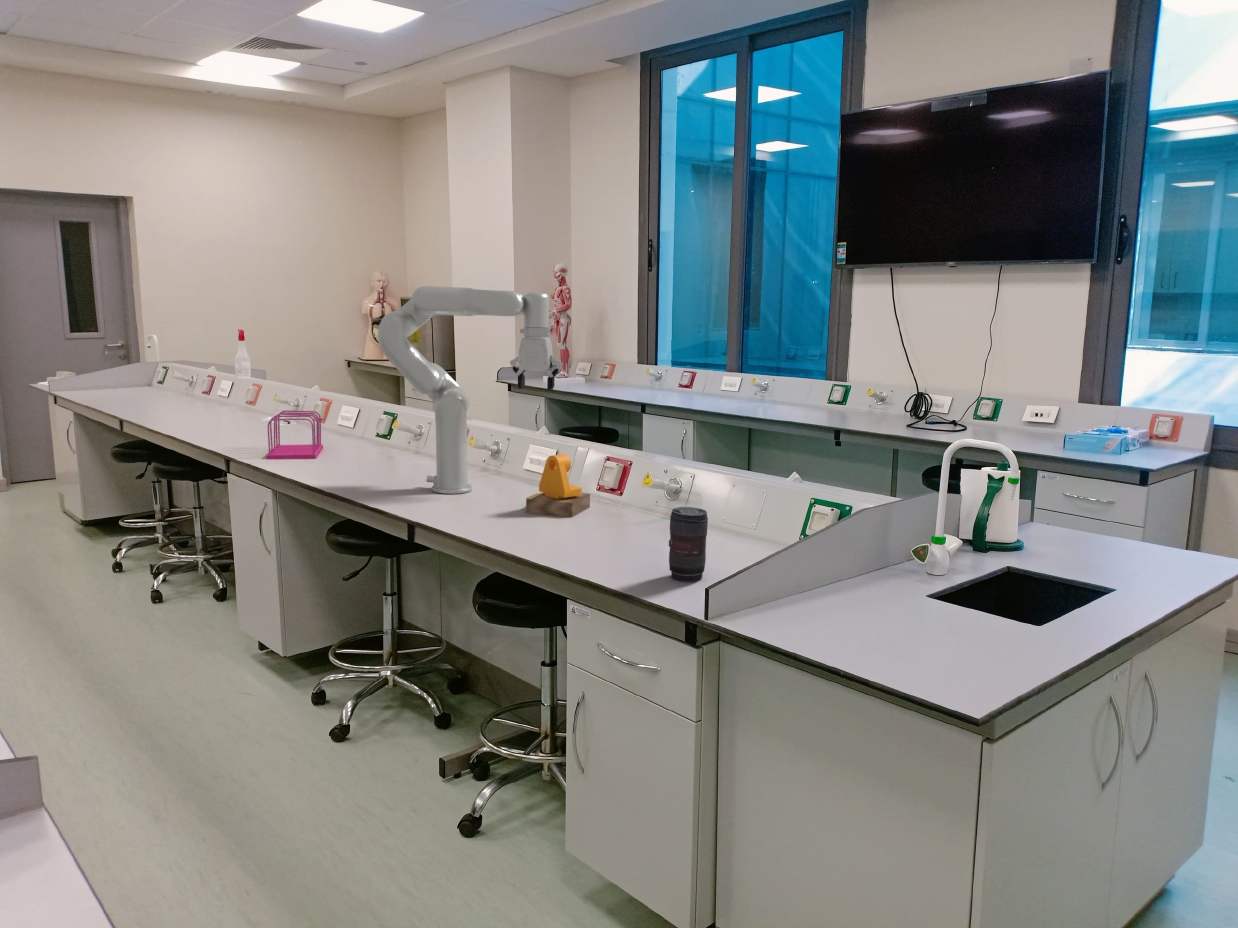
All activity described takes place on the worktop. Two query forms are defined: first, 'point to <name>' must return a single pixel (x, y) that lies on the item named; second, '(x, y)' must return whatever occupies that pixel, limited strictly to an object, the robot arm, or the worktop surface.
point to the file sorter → (295, 450)
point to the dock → (557, 504)
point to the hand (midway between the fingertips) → (535, 389)
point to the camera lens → (687, 543)
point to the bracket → (557, 478)
